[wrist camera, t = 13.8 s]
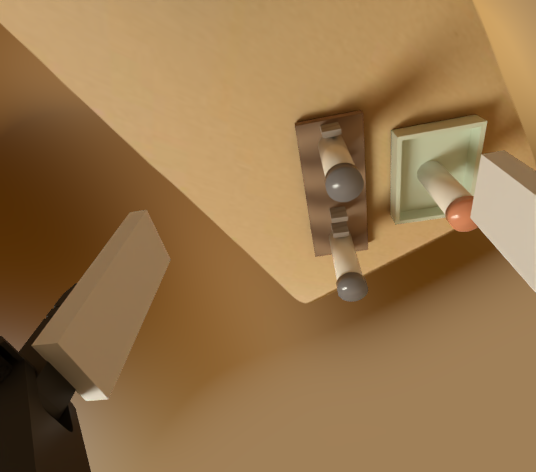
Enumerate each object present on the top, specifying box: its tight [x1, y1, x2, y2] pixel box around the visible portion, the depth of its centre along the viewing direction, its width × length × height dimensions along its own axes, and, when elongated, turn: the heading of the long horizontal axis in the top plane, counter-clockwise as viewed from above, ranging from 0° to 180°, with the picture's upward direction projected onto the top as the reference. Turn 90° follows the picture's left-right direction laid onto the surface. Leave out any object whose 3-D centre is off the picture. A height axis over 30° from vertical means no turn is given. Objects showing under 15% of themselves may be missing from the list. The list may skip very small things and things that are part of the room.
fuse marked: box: [417, 161, 478, 232], centre depth 43 cm, size 4×4×13 cm
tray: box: [390, 115, 487, 225], centre depth 47 cm, size 14×11×3 cm
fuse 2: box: [329, 232, 368, 301], centre depth 49 cm, size 4×4×13 cm
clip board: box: [295, 110, 368, 257], centre depth 49 cm, size 23×9×4 cm, turn 12°
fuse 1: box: [318, 135, 364, 202], centre depth 40 cm, size 4×4×13 cm
